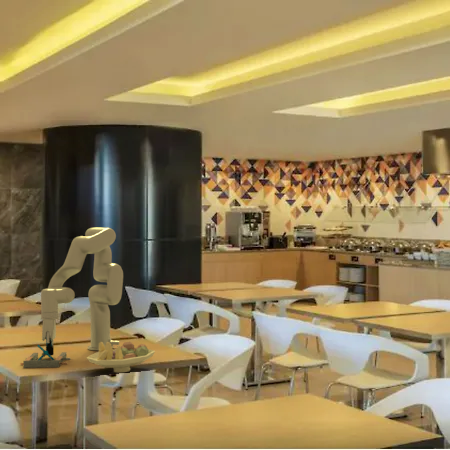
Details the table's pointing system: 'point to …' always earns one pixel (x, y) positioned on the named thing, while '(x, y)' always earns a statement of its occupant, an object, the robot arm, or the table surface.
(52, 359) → the gear
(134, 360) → the dish with food
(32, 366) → the rail
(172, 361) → the table surface
